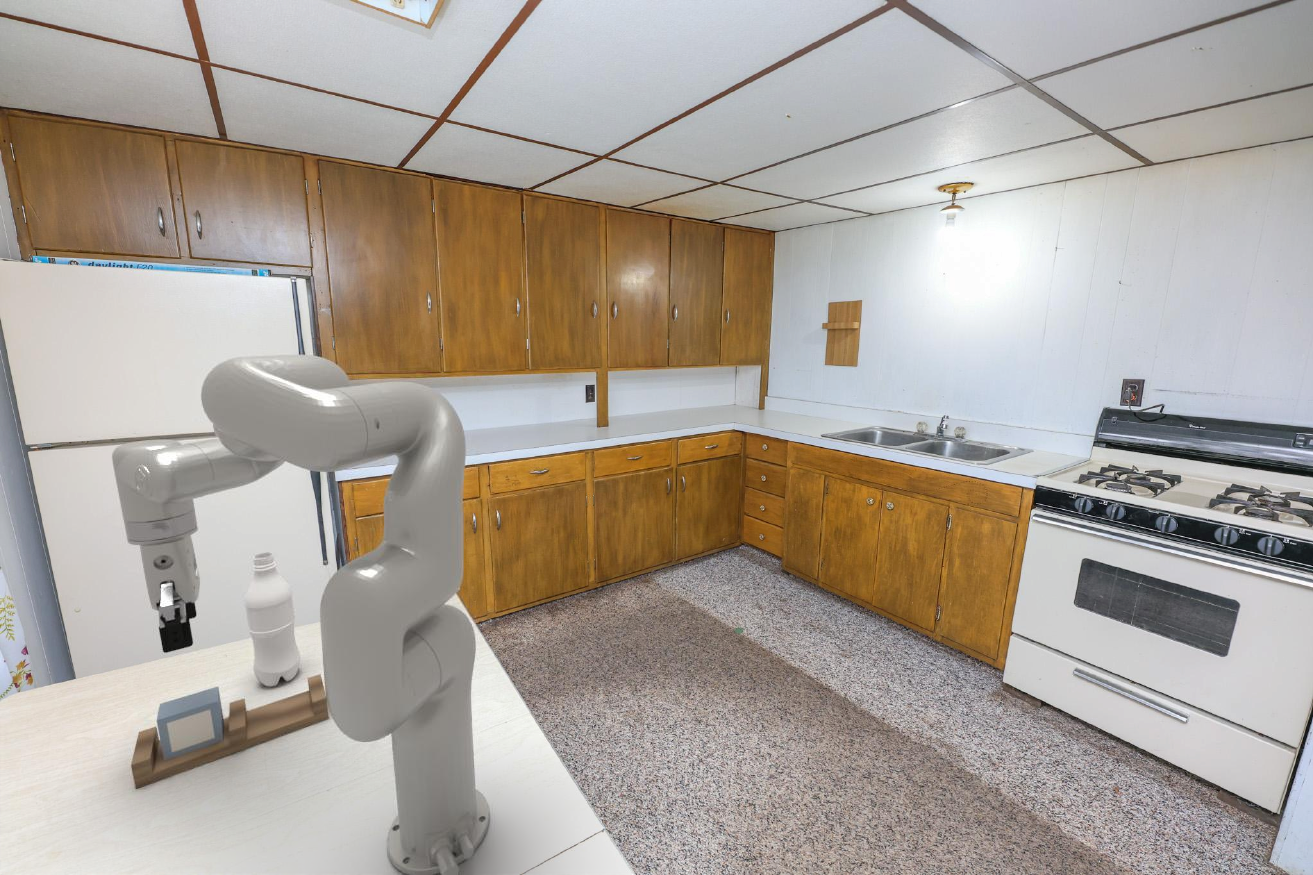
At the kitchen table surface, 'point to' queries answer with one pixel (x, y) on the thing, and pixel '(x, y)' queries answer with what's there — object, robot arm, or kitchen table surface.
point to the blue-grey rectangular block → (190, 723)
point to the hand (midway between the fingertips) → (181, 633)
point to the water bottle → (271, 623)
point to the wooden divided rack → (233, 733)
